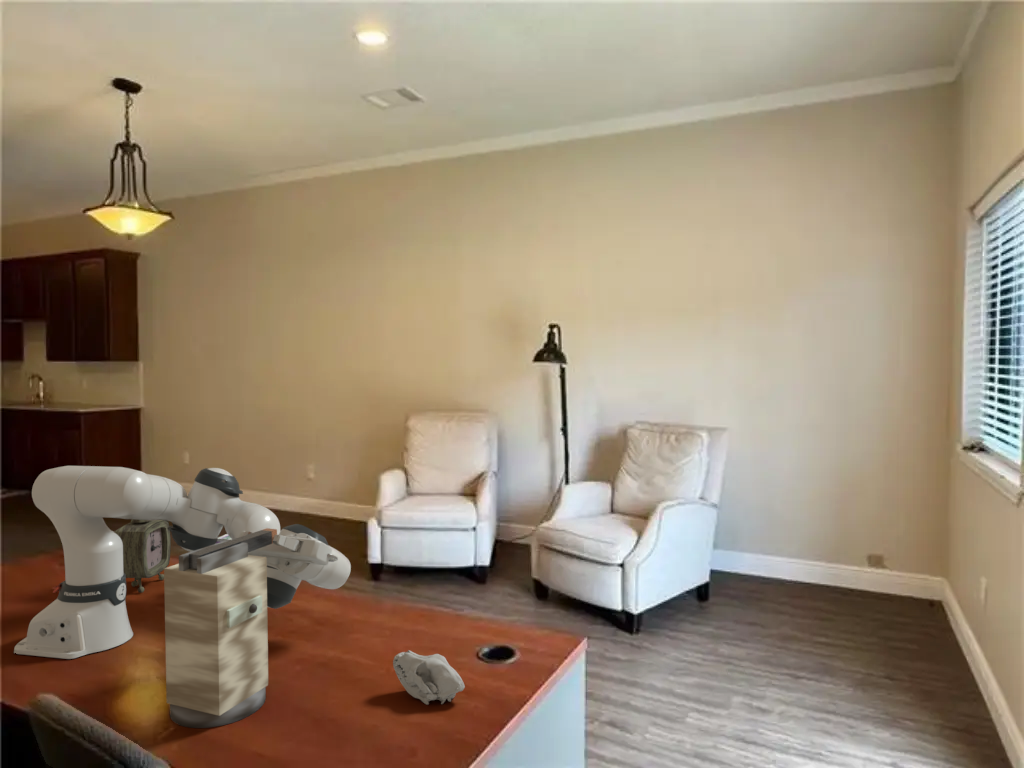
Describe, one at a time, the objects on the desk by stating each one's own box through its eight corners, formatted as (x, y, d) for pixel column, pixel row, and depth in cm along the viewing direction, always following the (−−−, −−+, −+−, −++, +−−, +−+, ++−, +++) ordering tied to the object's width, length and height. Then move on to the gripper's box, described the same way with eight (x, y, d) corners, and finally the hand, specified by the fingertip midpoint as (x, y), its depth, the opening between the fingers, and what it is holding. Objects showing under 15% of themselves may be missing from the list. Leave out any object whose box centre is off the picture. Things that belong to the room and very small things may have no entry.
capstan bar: (200, 569, 120) (199, 555, 120) (189, 568, 121) (188, 553, 121) (277, 541, 138) (276, 529, 138) (267, 540, 139) (266, 528, 139)
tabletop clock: (143, 595, 184) (141, 501, 183) (109, 595, 184) (107, 501, 183) (171, 578, 198) (169, 491, 197) (139, 578, 198) (138, 491, 197)
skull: (455, 698, 122) (406, 641, 125) (424, 729, 125) (377, 673, 128) (476, 675, 130) (429, 621, 133) (447, 704, 133) (401, 651, 136)
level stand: (219, 735, 115) (217, 565, 114) (148, 717, 121) (145, 555, 120) (284, 692, 130) (282, 541, 129) (218, 678, 136) (215, 533, 135)
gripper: (337, 576, 141) (298, 558, 130) (257, 565, 149) (214, 547, 138) (346, 545, 144) (309, 525, 133) (267, 536, 152) (225, 516, 140)
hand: (260, 536), depth 135 cm, fingers open, 6 cm apart
